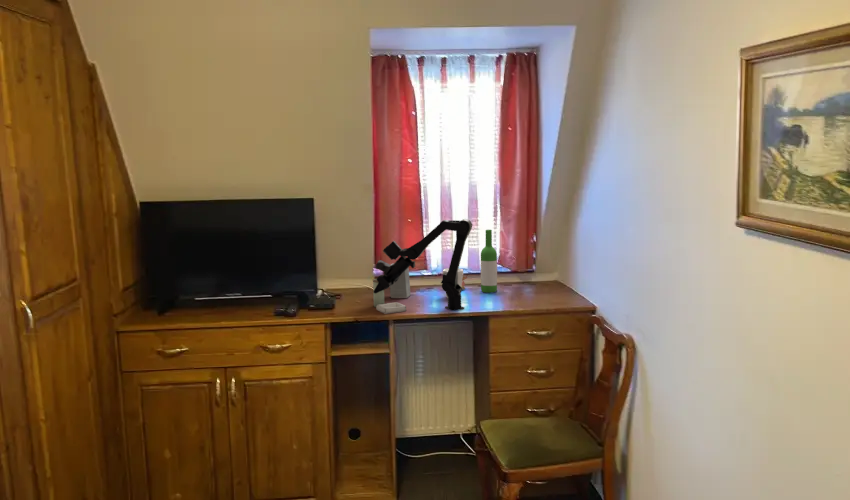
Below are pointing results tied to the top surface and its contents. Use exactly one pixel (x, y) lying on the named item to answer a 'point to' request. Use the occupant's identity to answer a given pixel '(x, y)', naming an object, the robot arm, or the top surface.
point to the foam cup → (460, 276)
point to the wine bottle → (488, 266)
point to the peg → (377, 294)
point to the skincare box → (401, 286)
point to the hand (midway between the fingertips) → (375, 291)
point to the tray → (391, 308)
